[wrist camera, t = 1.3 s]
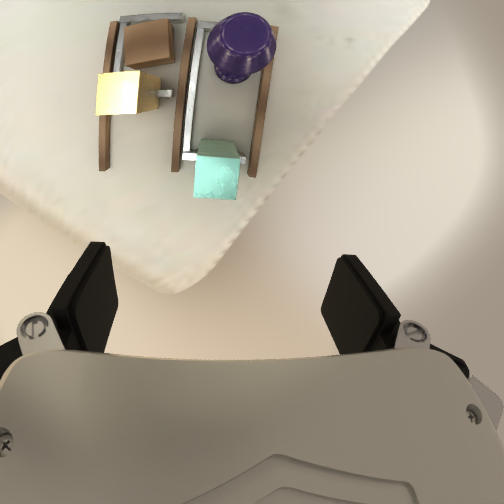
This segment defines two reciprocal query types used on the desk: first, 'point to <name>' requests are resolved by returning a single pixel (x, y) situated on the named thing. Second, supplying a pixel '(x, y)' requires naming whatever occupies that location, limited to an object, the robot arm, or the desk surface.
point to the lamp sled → (210, 144)
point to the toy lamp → (241, 46)
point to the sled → (131, 77)
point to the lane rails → (183, 101)
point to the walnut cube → (149, 44)
